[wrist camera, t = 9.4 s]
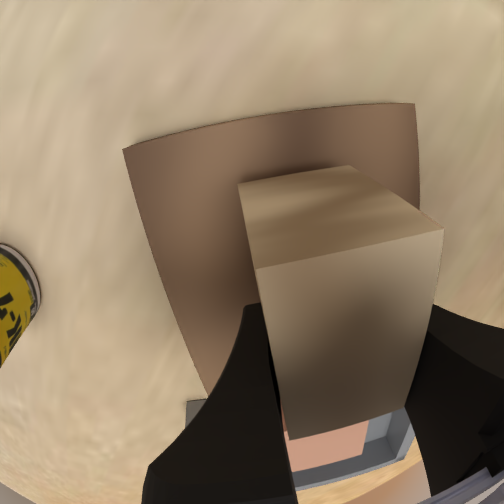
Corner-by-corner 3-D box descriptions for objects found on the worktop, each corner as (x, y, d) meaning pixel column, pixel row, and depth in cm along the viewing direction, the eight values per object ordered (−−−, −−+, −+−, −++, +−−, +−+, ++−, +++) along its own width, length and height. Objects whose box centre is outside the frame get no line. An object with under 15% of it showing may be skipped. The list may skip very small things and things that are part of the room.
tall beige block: (349, 165, 9) (444, 228, 5) (352, 311, 12) (403, 407, 8) (237, 184, 9) (255, 269, 5) (266, 331, 12) (289, 440, 8)
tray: (416, 348, 18) (437, 379, 15) (392, 434, 23) (403, 459, 20) (186, 401, 18) (184, 440, 15) (228, 472, 23) (230, 500, 20)
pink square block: (354, 372, 17) (371, 409, 15) (350, 422, 20) (361, 454, 17) (256, 394, 17) (262, 435, 15) (270, 441, 20) (275, 475, 17)
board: (394, 102, 11) (414, 103, 10) (391, 349, 18) (401, 366, 16) (133, 144, 11) (122, 149, 10) (214, 389, 17) (214, 410, 16)
